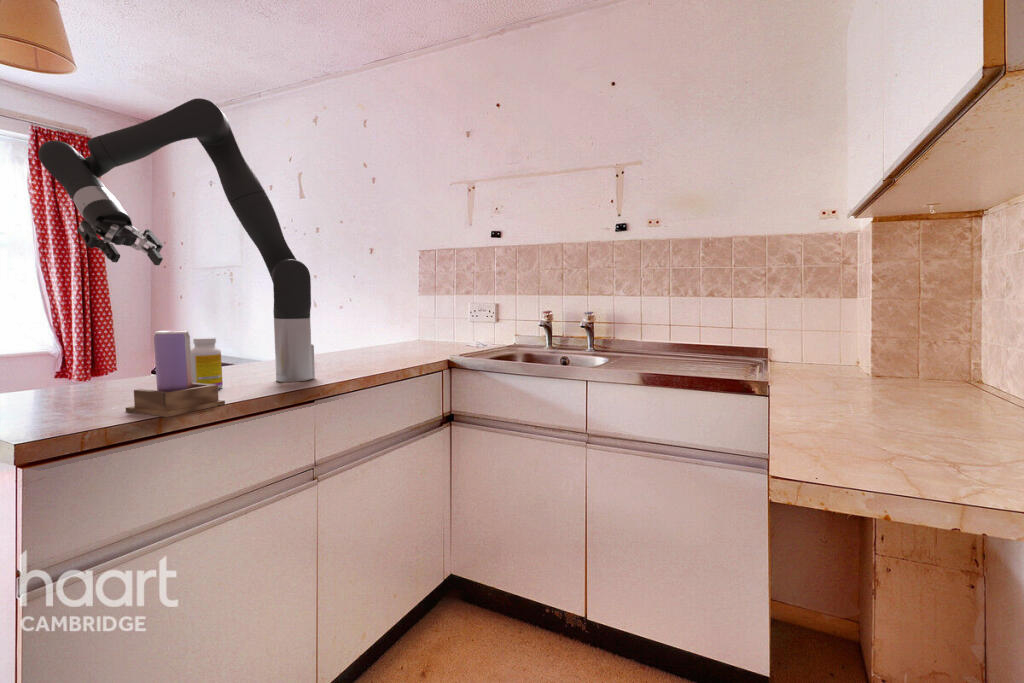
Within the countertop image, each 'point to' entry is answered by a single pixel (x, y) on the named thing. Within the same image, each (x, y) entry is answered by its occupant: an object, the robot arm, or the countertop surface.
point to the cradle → (175, 400)
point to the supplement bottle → (206, 362)
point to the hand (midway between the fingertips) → (138, 261)
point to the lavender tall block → (173, 360)
